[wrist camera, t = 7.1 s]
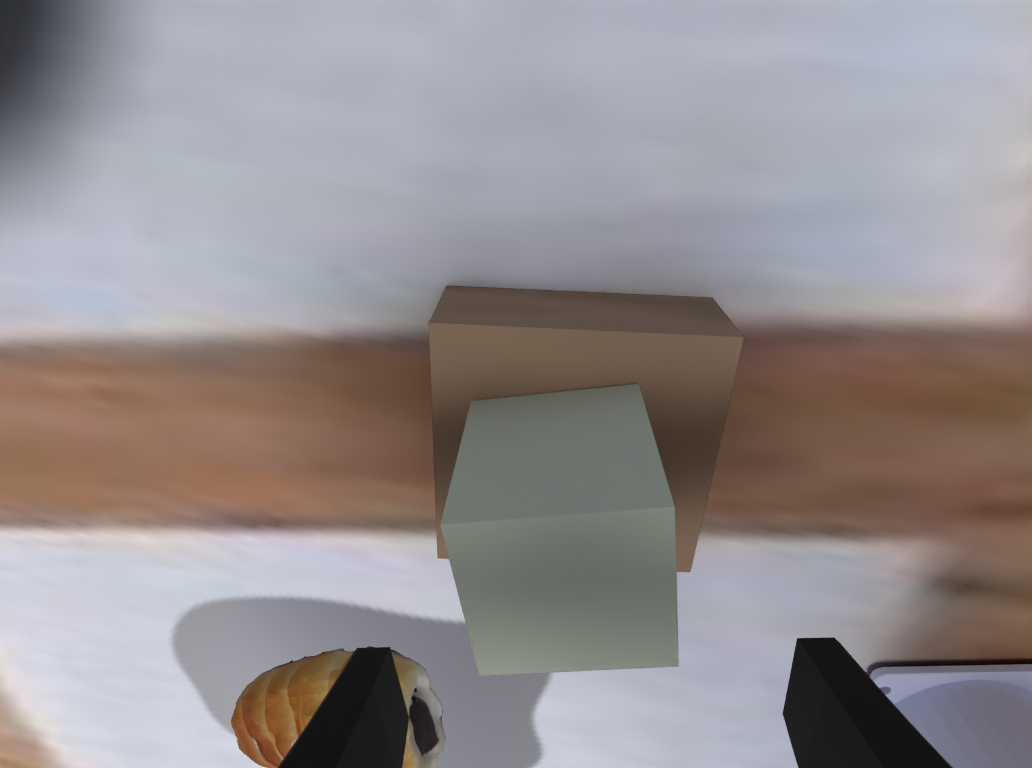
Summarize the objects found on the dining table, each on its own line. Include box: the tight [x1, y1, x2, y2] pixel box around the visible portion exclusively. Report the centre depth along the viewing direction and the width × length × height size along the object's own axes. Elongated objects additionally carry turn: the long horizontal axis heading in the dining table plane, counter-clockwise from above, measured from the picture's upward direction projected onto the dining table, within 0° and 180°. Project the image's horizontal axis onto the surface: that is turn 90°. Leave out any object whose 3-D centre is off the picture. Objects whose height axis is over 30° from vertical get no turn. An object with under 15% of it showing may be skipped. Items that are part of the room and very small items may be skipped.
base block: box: [429, 286, 744, 572], centre depth 18 cm, size 8×8×4 cm
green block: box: [440, 384, 679, 676], centre depth 14 cm, size 4×4×5 cm
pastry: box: [231, 647, 446, 768], centre depth 25 cm, size 9×7×4 cm
